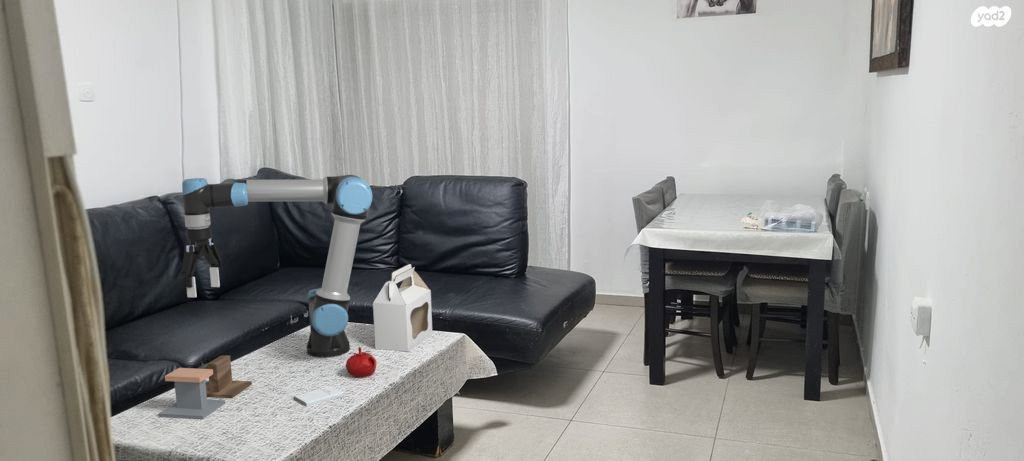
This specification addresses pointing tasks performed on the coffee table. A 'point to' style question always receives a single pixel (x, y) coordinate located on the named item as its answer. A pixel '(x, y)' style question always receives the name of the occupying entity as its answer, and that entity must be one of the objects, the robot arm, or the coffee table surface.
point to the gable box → (402, 312)
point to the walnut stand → (223, 380)
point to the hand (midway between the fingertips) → (204, 291)
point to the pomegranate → (361, 364)
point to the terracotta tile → (189, 375)
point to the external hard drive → (318, 396)
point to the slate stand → (191, 402)
